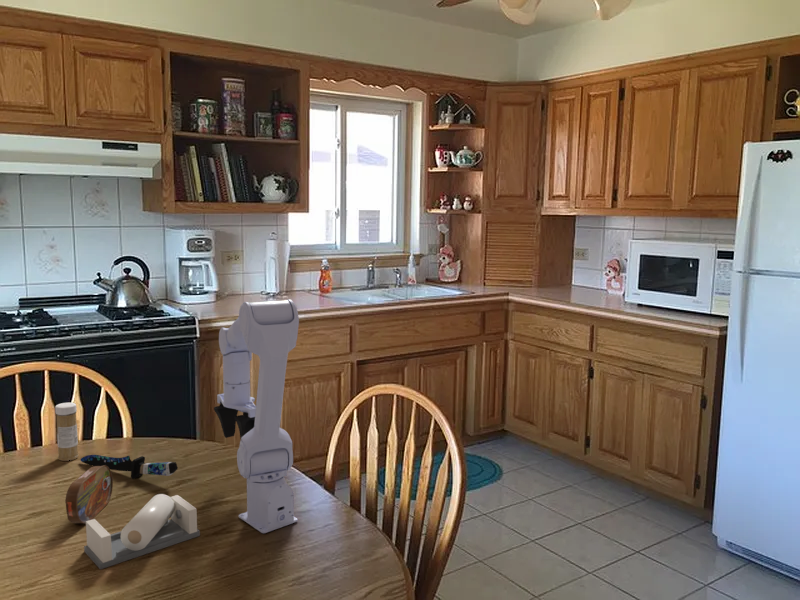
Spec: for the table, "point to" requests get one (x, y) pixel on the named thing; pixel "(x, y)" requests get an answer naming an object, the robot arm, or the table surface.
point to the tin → (89, 494)
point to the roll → (147, 522)
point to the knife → (131, 465)
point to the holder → (174, 531)
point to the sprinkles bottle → (67, 431)
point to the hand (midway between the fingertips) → (238, 441)
